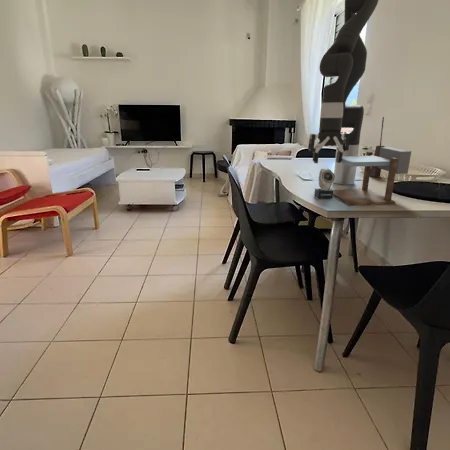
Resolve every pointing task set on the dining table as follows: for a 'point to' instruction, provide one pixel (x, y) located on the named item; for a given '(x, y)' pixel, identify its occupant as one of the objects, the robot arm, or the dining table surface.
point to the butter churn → (374, 169)
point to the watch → (325, 184)
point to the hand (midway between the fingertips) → (326, 162)
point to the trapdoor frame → (366, 195)
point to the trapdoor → (382, 159)
